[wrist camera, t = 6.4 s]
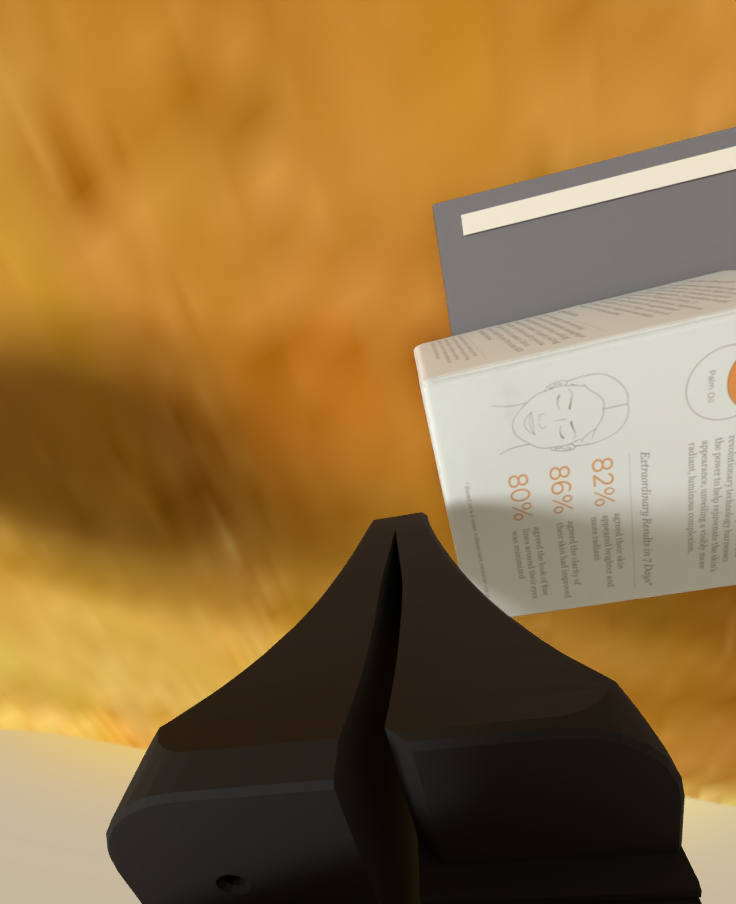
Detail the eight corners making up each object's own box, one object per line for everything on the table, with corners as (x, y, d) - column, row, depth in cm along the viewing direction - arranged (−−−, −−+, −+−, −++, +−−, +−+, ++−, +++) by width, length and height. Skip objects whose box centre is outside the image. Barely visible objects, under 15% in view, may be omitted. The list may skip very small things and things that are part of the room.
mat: (484, 555, 20) (487, 563, 19) (432, 206, 15) (433, 204, 14) (837, 503, 18) (851, 511, 17) (918, 82, 13) (942, 73, 12)
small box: (449, 529, 19) (721, 483, 17) (469, 628, 14) (858, 575, 12) (411, 341, 16) (732, 265, 14) (417, 376, 11) (918, 264, 9)
